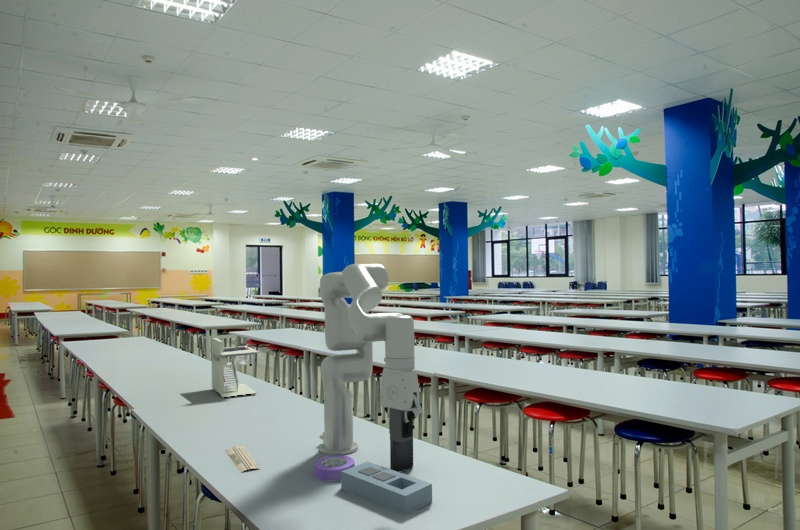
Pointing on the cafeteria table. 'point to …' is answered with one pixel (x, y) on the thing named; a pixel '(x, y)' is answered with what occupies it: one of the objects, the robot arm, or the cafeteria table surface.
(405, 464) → the phone
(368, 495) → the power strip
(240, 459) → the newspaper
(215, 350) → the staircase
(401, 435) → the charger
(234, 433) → the cafeteria table surface
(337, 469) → the masking tape
